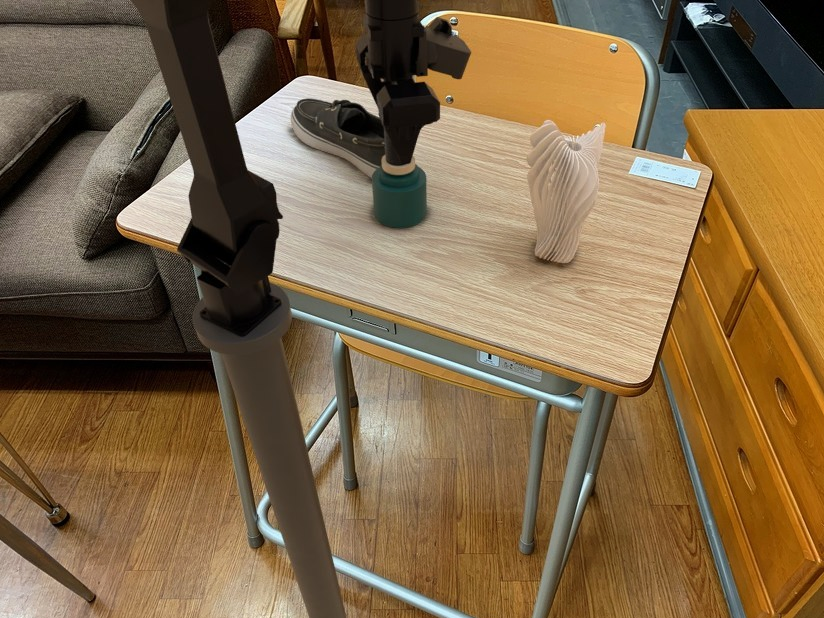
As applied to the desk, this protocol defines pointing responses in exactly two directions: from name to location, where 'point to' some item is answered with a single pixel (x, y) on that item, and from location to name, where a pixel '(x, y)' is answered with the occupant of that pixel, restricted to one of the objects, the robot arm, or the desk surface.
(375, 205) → the bottle
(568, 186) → the beige finned vase
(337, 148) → the boat shoe
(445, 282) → the desk surface
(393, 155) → the flashlight
